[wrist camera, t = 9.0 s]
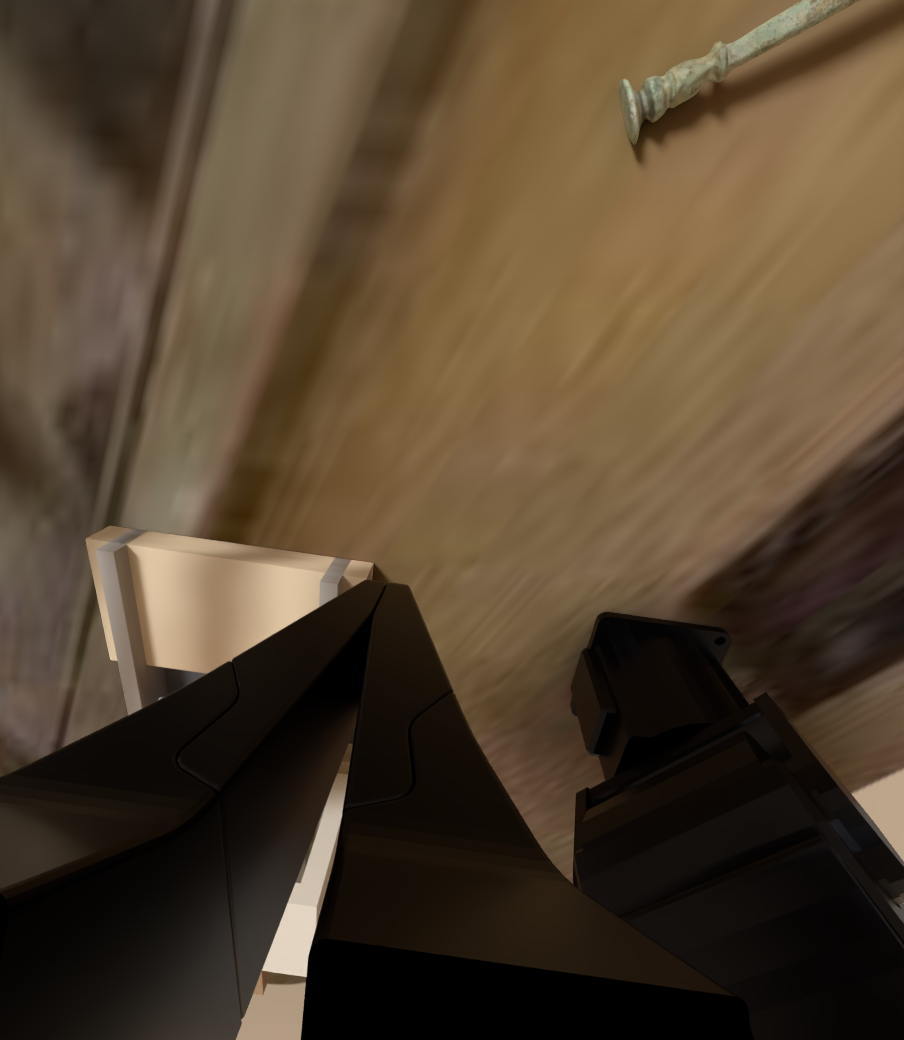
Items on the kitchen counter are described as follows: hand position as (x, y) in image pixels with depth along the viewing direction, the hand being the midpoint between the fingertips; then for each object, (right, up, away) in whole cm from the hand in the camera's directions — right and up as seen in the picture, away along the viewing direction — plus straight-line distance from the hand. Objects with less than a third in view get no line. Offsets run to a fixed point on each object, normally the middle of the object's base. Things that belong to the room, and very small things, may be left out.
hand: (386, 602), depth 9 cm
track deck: (-11, -12, +19) cm, 24 cm away
